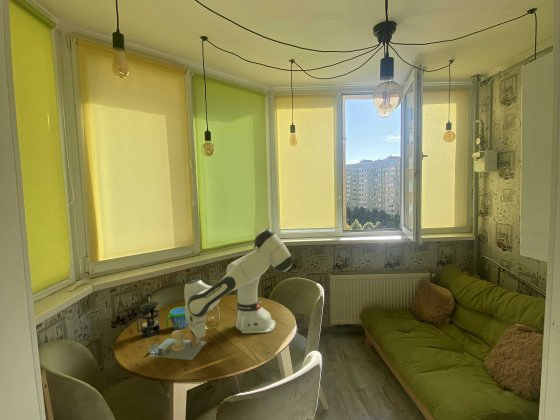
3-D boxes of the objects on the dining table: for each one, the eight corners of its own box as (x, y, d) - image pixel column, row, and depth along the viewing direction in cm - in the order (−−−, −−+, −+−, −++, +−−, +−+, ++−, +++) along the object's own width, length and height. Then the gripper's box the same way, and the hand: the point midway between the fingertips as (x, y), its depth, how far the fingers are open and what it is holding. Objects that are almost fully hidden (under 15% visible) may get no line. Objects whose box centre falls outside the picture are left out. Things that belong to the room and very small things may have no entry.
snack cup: (170, 336, 152) (169, 317, 151) (162, 329, 160) (161, 311, 159) (197, 326, 162) (196, 308, 162) (188, 320, 170) (188, 303, 170)
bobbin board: (207, 343, 143) (206, 326, 143) (191, 362, 127) (191, 343, 127) (167, 340, 147) (166, 323, 147) (148, 358, 131) (147, 339, 131)
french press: (163, 329, 159) (161, 289, 158) (160, 337, 150) (158, 295, 149) (140, 332, 157) (138, 291, 155) (136, 341, 147) (133, 297, 146)
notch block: (170, 350, 136) (170, 344, 136) (164, 356, 131) (164, 349, 131) (155, 348, 137) (155, 342, 137) (149, 354, 132) (148, 348, 132)
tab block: (198, 340, 144) (198, 326, 144) (200, 343, 141) (200, 329, 140) (190, 342, 142) (190, 328, 142) (192, 346, 139) (192, 332, 138)
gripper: (182, 306, 148) (183, 332, 148) (194, 321, 130) (195, 350, 131) (194, 304, 151) (195, 329, 152) (207, 317, 134) (208, 346, 135)
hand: (195, 339), depth 141 cm, fingers closed on tab block, 4 cm apart
